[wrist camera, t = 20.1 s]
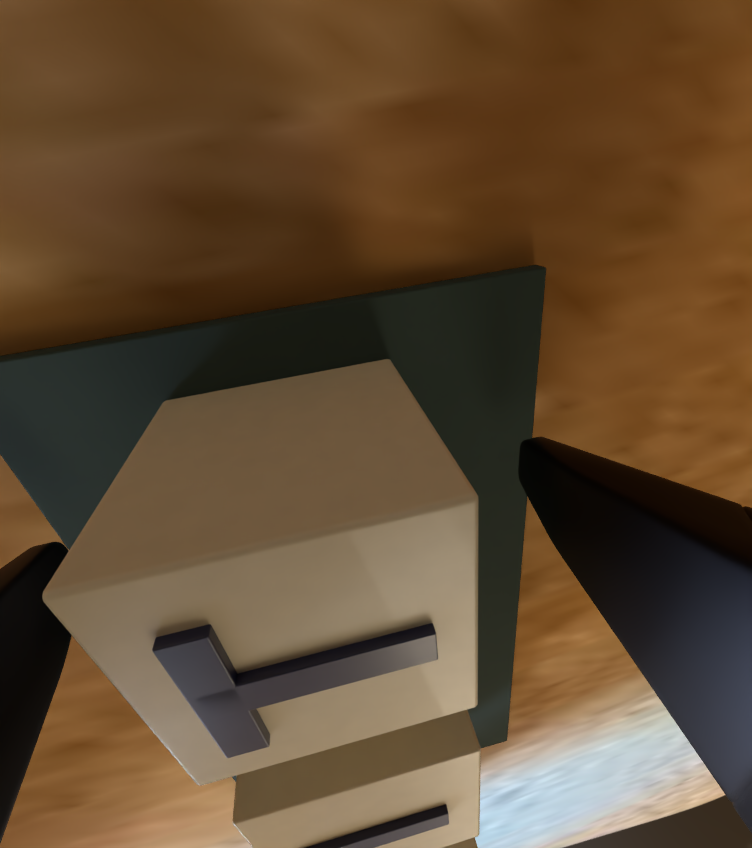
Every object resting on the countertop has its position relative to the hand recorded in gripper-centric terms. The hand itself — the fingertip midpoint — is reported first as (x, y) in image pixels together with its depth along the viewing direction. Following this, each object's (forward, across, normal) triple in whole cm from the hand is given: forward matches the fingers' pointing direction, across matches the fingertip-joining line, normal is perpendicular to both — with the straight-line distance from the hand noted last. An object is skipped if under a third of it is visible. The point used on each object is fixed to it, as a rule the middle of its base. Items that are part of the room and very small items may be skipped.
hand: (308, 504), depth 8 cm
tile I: (+1, 0, +6) cm, 6 cm away
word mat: (+2, 0, +6) cm, 7 cm away
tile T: (+1, 0, 0) cm, 1 cm away
